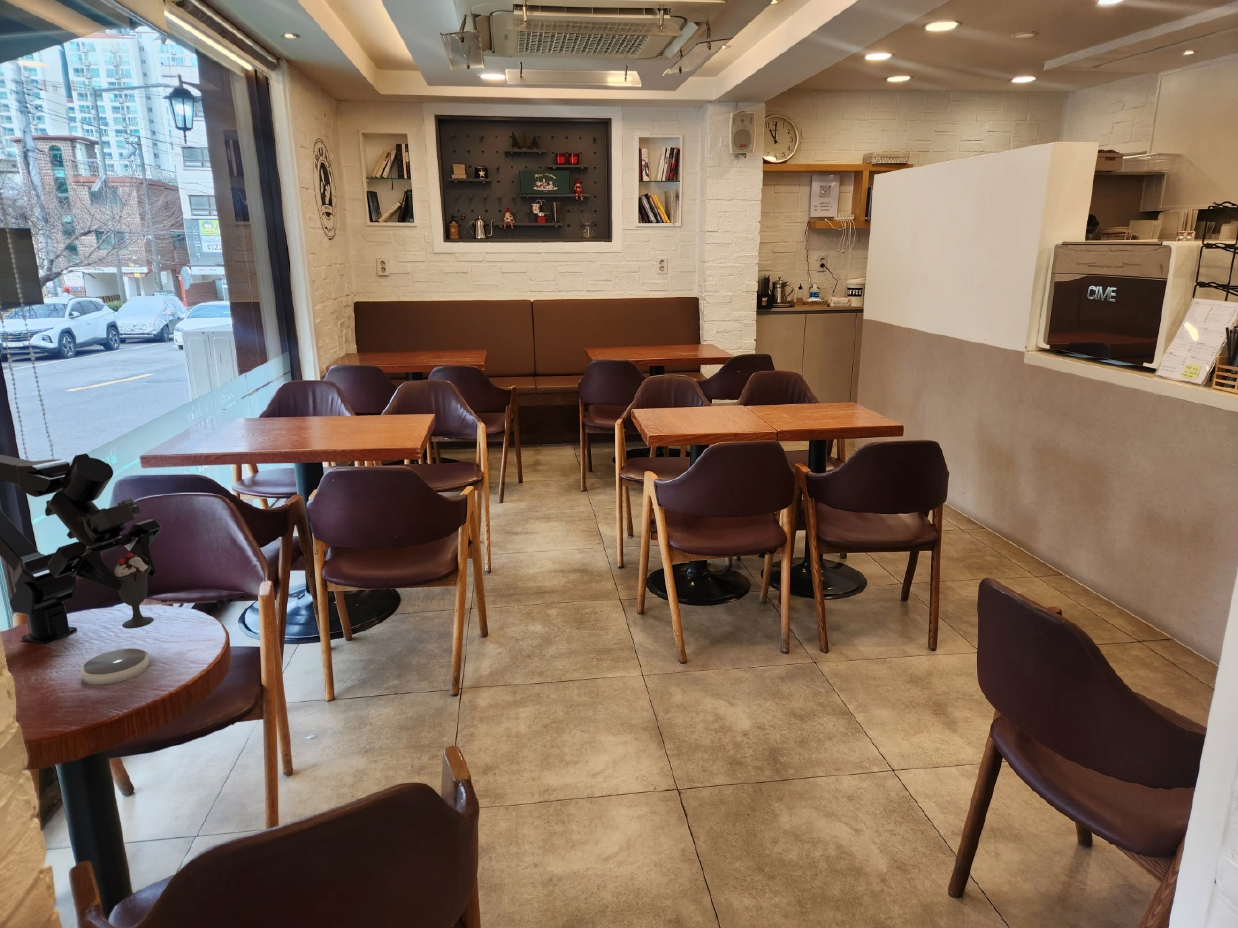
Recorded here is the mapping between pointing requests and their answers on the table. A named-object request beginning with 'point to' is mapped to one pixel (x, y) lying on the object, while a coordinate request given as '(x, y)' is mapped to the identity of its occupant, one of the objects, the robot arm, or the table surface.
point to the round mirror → (115, 666)
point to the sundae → (133, 586)
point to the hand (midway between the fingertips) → (137, 581)
